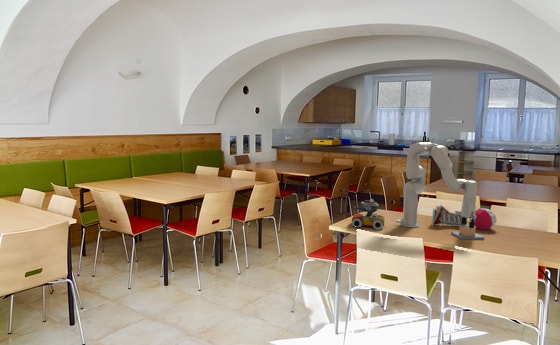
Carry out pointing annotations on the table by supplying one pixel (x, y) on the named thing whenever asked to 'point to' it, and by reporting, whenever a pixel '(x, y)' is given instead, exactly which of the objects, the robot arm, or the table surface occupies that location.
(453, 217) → the decorative sign
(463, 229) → the collar
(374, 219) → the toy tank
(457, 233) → the post stand
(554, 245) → the table surface
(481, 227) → the decorative object
